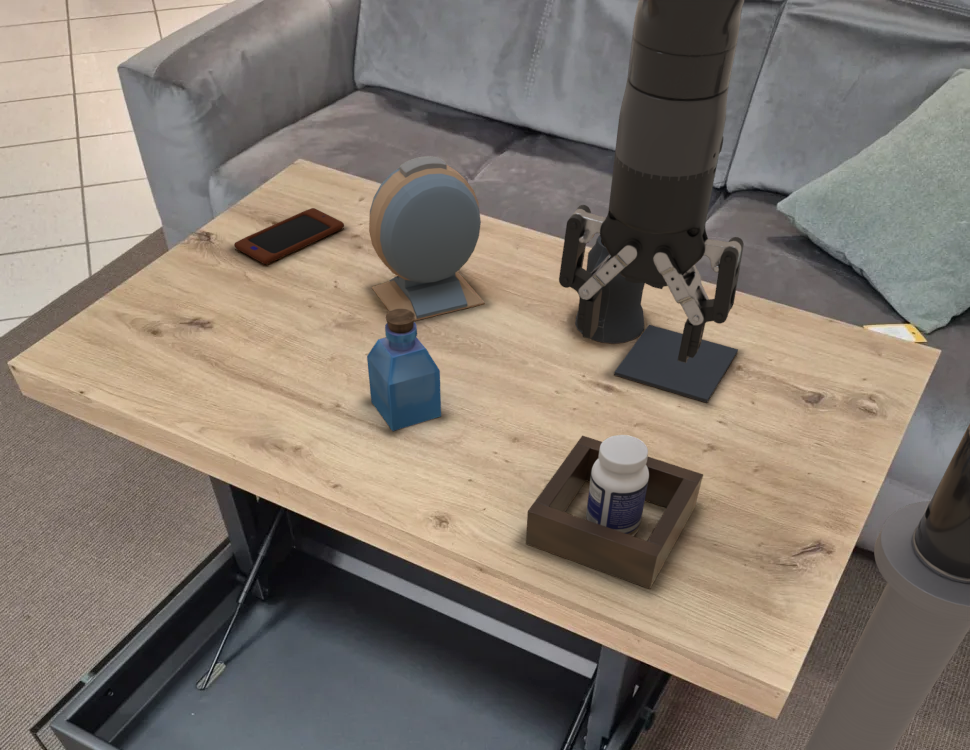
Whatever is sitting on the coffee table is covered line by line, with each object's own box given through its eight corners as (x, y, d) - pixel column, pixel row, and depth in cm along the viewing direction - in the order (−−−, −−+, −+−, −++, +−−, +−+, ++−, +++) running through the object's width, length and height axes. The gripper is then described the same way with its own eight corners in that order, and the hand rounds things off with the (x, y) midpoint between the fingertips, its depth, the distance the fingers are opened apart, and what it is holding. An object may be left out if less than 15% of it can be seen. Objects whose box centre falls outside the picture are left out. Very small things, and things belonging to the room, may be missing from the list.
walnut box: (695, 506, 100) (703, 474, 96) (650, 589, 92) (657, 556, 89) (578, 468, 104) (582, 435, 100) (525, 543, 96) (527, 511, 93)
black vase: (596, 297, 126) (606, 215, 118) (656, 319, 123) (671, 236, 115) (550, 338, 120) (556, 254, 111) (612, 362, 117) (623, 277, 108)
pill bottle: (646, 516, 99) (662, 440, 91) (628, 550, 96) (643, 474, 88) (595, 500, 100) (606, 424, 93) (576, 533, 97) (585, 457, 89)
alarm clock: (461, 268, 131) (460, 134, 117) (491, 302, 125) (494, 165, 112) (365, 290, 127) (352, 153, 113) (392, 326, 121) (382, 187, 108)
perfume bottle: (392, 431, 107) (385, 338, 98) (371, 402, 111) (362, 309, 102) (441, 416, 109) (438, 323, 100) (418, 388, 113) (414, 296, 104)
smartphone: (232, 242, 132) (312, 205, 140) (233, 248, 133) (313, 212, 140) (264, 259, 129) (345, 221, 137) (265, 266, 130) (345, 228, 137)
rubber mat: (737, 352, 119) (738, 349, 118) (707, 403, 112) (707, 399, 111) (648, 327, 122) (649, 324, 122) (613, 375, 115) (614, 371, 115)
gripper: (557, 151, 68) (544, 349, 80) (752, 189, 64) (706, 389, 77) (591, 113, 72) (573, 306, 85) (775, 146, 69) (728, 342, 81)
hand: (636, 345), depth 81 cm, fingers open, 8 cm apart
